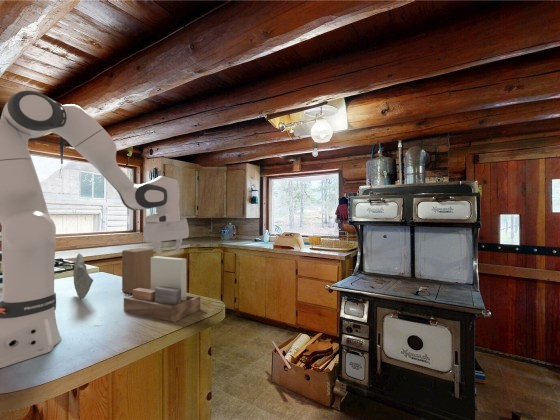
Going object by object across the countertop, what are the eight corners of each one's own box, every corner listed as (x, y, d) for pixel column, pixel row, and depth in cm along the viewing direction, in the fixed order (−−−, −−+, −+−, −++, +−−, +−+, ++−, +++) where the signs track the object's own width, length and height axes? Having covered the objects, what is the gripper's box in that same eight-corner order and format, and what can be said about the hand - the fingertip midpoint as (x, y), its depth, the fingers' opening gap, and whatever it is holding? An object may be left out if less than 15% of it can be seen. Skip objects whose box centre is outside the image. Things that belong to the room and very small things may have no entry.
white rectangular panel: (180, 312, 107) (180, 260, 107) (150, 306, 114) (150, 257, 114) (186, 309, 110) (186, 258, 110) (156, 304, 116) (156, 256, 116)
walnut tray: (174, 321, 98) (174, 307, 98) (123, 311, 108) (123, 298, 108) (200, 309, 110) (200, 296, 110) (152, 300, 121) (152, 289, 121)
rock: (94, 305, 114) (94, 256, 114) (75, 309, 110) (75, 258, 110) (84, 291, 134) (84, 250, 134) (68, 294, 130) (68, 251, 130)
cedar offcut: (151, 313, 105) (150, 292, 105) (132, 310, 109) (132, 289, 109) (157, 311, 108) (157, 290, 108) (139, 307, 112) (139, 287, 112)
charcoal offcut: (175, 318, 100) (175, 291, 101) (154, 314, 105) (154, 287, 105) (181, 315, 103) (181, 288, 103) (161, 312, 107) (161, 286, 107)
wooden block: (121, 292, 134) (121, 250, 134) (140, 286, 143) (140, 247, 143) (135, 294, 129) (135, 251, 129) (153, 289, 138) (153, 249, 138)
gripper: (181, 216, 123) (181, 247, 123) (141, 218, 104) (141, 255, 104) (192, 216, 120) (192, 248, 120) (153, 218, 101) (153, 256, 102)
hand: (168, 251), depth 112 cm, fingers open, 8 cm apart
